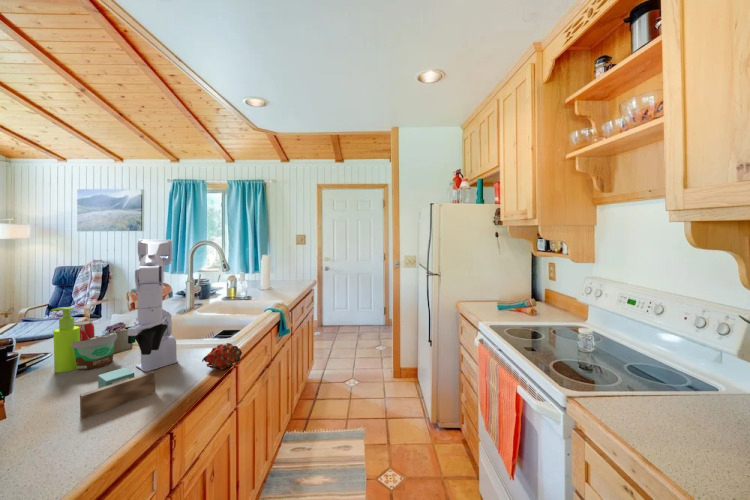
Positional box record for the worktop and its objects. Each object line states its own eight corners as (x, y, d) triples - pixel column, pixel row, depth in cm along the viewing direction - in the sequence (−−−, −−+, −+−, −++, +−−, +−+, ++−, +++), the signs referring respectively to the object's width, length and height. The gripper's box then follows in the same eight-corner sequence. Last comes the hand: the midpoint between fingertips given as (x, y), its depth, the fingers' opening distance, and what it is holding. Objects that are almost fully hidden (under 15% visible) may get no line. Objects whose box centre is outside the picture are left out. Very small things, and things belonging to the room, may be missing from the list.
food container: (86, 374, 93) (86, 343, 92) (71, 372, 94) (70, 341, 93) (127, 359, 105) (126, 331, 104) (113, 357, 106) (112, 329, 106)
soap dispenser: (63, 364, 99) (61, 305, 98) (85, 364, 100) (84, 305, 99) (45, 372, 93) (43, 309, 93) (69, 372, 94) (67, 309, 93)
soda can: (97, 354, 108) (97, 322, 108) (70, 361, 102) (69, 326, 102) (91, 350, 112) (90, 318, 111) (64, 356, 106) (64, 323, 105)
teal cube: (125, 387, 86) (125, 367, 85) (134, 394, 82) (134, 372, 82) (98, 396, 81) (98, 375, 80) (106, 404, 77) (106, 381, 77)
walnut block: (152, 390, 84) (152, 371, 84) (155, 392, 83) (155, 372, 83) (80, 416, 72) (79, 394, 71) (82, 418, 71) (81, 396, 71)
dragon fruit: (245, 369, 102) (205, 380, 97) (242, 348, 108) (204, 358, 103) (242, 355, 97) (200, 367, 92) (239, 334, 103) (199, 344, 98)
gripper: (152, 301, 94) (153, 343, 95) (115, 312, 80) (116, 362, 80) (175, 301, 95) (176, 343, 95) (142, 312, 80) (143, 362, 81)
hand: (150, 352), depth 88 cm, fingers open, 3 cm apart
